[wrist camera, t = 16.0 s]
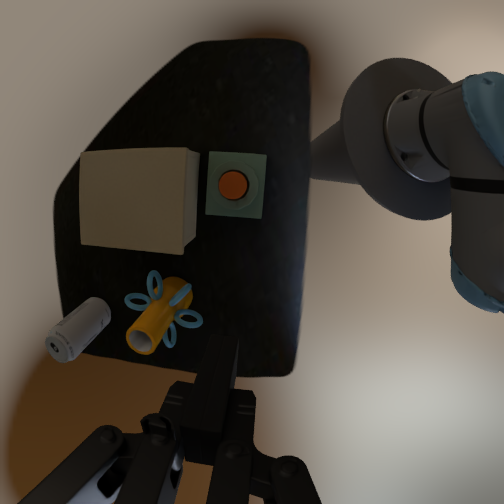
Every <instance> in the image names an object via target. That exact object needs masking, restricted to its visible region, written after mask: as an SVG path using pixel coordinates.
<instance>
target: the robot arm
mask: <svg viewBox="0 0 504 504" xmlns="http://www.w3.org/2000/svg"><path fill="white" fill-rule="evenodd" d="M383 135H384V140H385V144H386V147H387V149H388V152H389V154H390V156H391V157H392V159H393V161H394V162H395V163H396V165H397V166H398V167H399V168H400V169H401V170H402V171H403V172H404V173H405V174H407V175H408V176H410V177H412V178H414V179H416V180H419V181H425V182H438V181H442V180H444V179H446V178H448V177H449V176H450V184H451V211H452V236H451V246H450V256H451V279H452V282H453V284H454V286H455V288H456V290H457V292H458V293H459V294H460V295H461V296H462V297H463V298H464V299H465V300H467V301H468V302H469V303H471V304H473V305H474V306H476V307H478V308H480V309H483V310H486V311H489V312H493V313H498V312H499V311H501V312H502V313H504V75H503V74H501V73H498V72H486V73H482V74H478V75H477V74H474V75H469V76H467V77H466V78H465V79H463V80H460V81H458V82H456V83H453V84H451V85H449V86H446V87H444V88H442V89H439V90H437V91H435V92H433V91H426V90H421V88H420V89H415V90H409V91H406V92H404V93H402V94H400V95H398V96H397V97H395V98H394V99H393V100H392V101H391V102H390V104H389V105H388V107H387V109H386V111H385V115H384V119H383ZM238 341H239V337H232V336H223V335H215V334H211V336H210V339H209V341H208V344H207V347H206V350H205V353H204V356H203V359H202V361H201V364H200V367H199V370H198V373H197V376H196V379H195V382H194V384H193V383H187V382H181V381H176V382H175V383H174V384H173V385H172V386H171V387H170V388H169V391H168V393H167V396H166V397H165V400H164V402H163V404H162V406H161V409H160V411H159V413H153V414H148V415H147V416H145V417H143V419H142V420H141V421H140V422H141V426H142V429H143V432H142V433H137V434H133V433H132V434H131V433H122V431H121V430H120V429H118V428H117V427H115V426H112V425H104V426H100V427H99V428H97V429H96V430H95V431H94V432H93V433H92V434H91V435H90V436H88V438H86V439H85V440H84V441H83V442H82V443H81V444H80V445H79V446H78V447H77V448H76V449H75V450H74V451H73V452H72V453H71V454H70V455H69V456H68V457H67V458H66V459H65V460H64V461H62V462H61V463H60V464H59V465H58V466H57V467H56V468H55V469H54V470H53V471H52V472H51V473H50V474H49V475H48V476H47V477H46V478H44V479H43V480H42V481H41V482H40V483H39V484H38V485H37V486H36V487H35V488H34V489H33V490H32V491H31V492H29V493H28V494H27V495H26V496H25V497H24V498H23V499H22V500H21V501H20V502H19V503H17V504H112V503H113V502H114V501H115V503H114V504H174V502H175V498H176V495H177V491H178V487H179V484H180V480H181V476H182V473H183V465H182V463H183V459H184V457H185V460H186V461H189V462H194V463H199V464H205V465H211V466H213V471H212V476H211V482H210V486H209V491H208V496H207V502H206V504H248V502H249V494H251V495H254V496H257V497H260V498H263V501H264V504H322V503H321V500H320V498H319V496H318V493H317V491H316V489H315V486H314V484H313V481H312V479H311V476H310V474H309V471H308V469H307V466H306V465H305V463H304V462H303V461H302V460H301V459H299V458H298V457H294V456H282V457H278V458H277V459H276V458H273V457H270V456H267V455H264V454H262V453H261V452H260V451H258V450H257V449H256V447H255V445H254V443H253V435H254V422H255V408H256V397H255V395H254V393H253V391H252V390H241V389H234V385H235V379H236V370H237V356H238ZM115 499H116V500H115Z"/></svg>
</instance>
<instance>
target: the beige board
mask: <svg viewBox="0 0 504 504" xmlns="http://www.w3.org/2000/svg"><path fill="white" fill-rule="evenodd" d="M187 163H188V148H138V149H117V150H103V151H91V152H81V158H80V186H79V204H80V232H81V244H85V245H94V246H103V247H112V248H122V249H131V250H140V251H150V252H159V253H169V254H179V255H182V254H183V253H184V224H185V198H186V178H187Z"/></svg>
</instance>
